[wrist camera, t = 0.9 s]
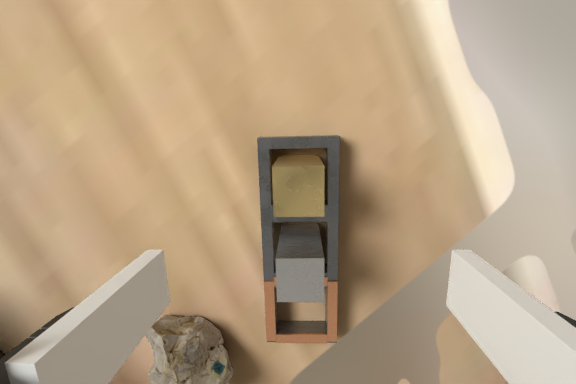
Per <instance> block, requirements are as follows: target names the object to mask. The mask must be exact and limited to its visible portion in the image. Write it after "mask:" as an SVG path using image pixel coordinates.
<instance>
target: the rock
mask: <svg viewBox="0 0 576 384" xmlns="http://www.w3.org/2000/svg"><path fill="white" fill-rule="evenodd" d="M146 338H147V340H148V342H150V343H151V345H152V349H153V352H154V364H153V366H152V368H151V371H150V372H149V374H148V376H149V377H150V380H151V382H152V383H153V384H227V383H228V381H229V380H230V379H231V377H232V376H233V368H232V365H231V363H230V362H229V357H228V351H227V350H226V349H225V348H224V346H223V345H222V344H223V343H224V341H223V340H224V339H223V337H222V335H221V332H220V330H219V329H217V328H216V327H215V326H214V324H212V323H211V322H209V321H208V320H206V319H205V318H203V317H200V316H199V317H194V316H186V317H184V316H182V315H179V316H171V315H164V316H163V317H161V318H160V319H159V320H158V321H157V322H155V323H154V324H153V325H152V327H151V328H150V329H149V331H148V332H147V333H146Z"/></svg>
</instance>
